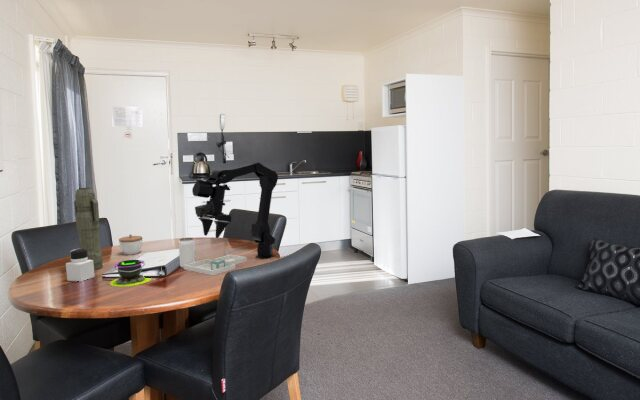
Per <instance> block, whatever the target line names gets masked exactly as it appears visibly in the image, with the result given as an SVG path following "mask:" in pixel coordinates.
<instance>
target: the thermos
mask: <svg viewBox="0 0 640 400" xmlns="http://www.w3.org/2000/svg"><path fill="white" fill-rule="evenodd" d="M74 195H75V197H74V198H75V200H74V202H73V204H74V205H73V206H74V214H75V215H74V216H75V225H76V230H77V233H78V241H79V244H78V245H79V249H86V250H87V255H88V259H87V260H93V264H94V271H97V269H98V270H101V269H102V267H104V266H103V251H102V250H101V243H100V241H101V240H100V232H99V231H100V230H99V229H100V217H99V215H100V213H99V202H98V200H97V199H96V193H95V191H94V189H93V188H91V187H79V188H78V189H76V191H75V194H74ZM100 268H101V269H100Z"/></svg>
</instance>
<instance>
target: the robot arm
mask: <svg viewBox="0 0 640 400" xmlns="http://www.w3.org/2000/svg"><path fill="white" fill-rule="evenodd" d="M248 174H254V175H255V177H256V178H257V177H258V179H259V180H258V181H259V186H260V189H261V190H260V197H259V199H260V200H259V205H258V211H257V213H258V214H257V219H256V222H255V223H252V224H251V231H250V233H251V237H252V239H253V240H254V243H255V244H257V248H256V249H257V254H256V255H255V258H261V259H269V258H271V257H275V256H276V254H275V253H273V244H276V243H275V242H276V238H275V237H274V236H273V235H272V234H271V227H270V225H269V217H270V212H271V211H270V209H271V202H272V197H273V196H272V195H273V190H274V189H275V188H276V186H277V184H278V179H279V175H278V173H277V172H276V171H275V170H272V169H270V168H269V167H267V166H264V165H263V164H262V163H260V162H257V161H256V162H251V163H249V164H244V165H241V166H236V167H233V168H226V169H225V168H224V169H223V168H222V169H213V171H212V172H211V174H210V175H209V177H208V178H207V179H206V180H202V179H196V181H195V183H194V185H193V187H192V195H193V196H194V197H198V198H206V199H208V198H209V200H207V201H206V203H205V204H201V205H198V206H195V207H194V210H195V215H196V217H197V218H198V220H199V221H200V222H201V224H202V230H203V235H204V236H208V235H209V232H210V230H211V226H212V224H213V222H214V224H215V239H219V237H220V236H221V234H223V232H224V230H225V229H226V228H227V227H228V225H229V224H230V223H232V222H233V217H232V215H231V214H228V213H227V214H226V213H224V212H223V207H224V206H226V203H225V202H224V200H225V194H226V191H230V190H231V187H229V186H228V184H227V183H229V182H231V181H233V180H235V178H238V177H242V176H246V175H248Z"/></svg>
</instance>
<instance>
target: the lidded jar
mask: <svg viewBox="0 0 640 400" xmlns="http://www.w3.org/2000/svg"><path fill="white" fill-rule="evenodd" d="M118 242H119V243H118V244H119V248H120V250H121V252H122V253H123V254H124V253H125V254H124V255H125V256H130V255H131V256H132V255H137V254H139V252H140V251H141V250H142V247H143V236H142V235H132V234H129V235H128V236H123V237H121V238H118ZM128 252H130V253H128ZM129 254H130V255H129Z"/></svg>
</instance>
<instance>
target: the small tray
mask: <svg viewBox="0 0 640 400" xmlns="http://www.w3.org/2000/svg"><path fill="white" fill-rule="evenodd" d="M218 259H220V260H225V262H227V263H233V264H236V265H238V264H242V263H245V262H247V261H248V259H247V256H242V255H237V254H236V255H235V254H227V255H224V256H219V257H216V258H213V259H212V260H218Z"/></svg>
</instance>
